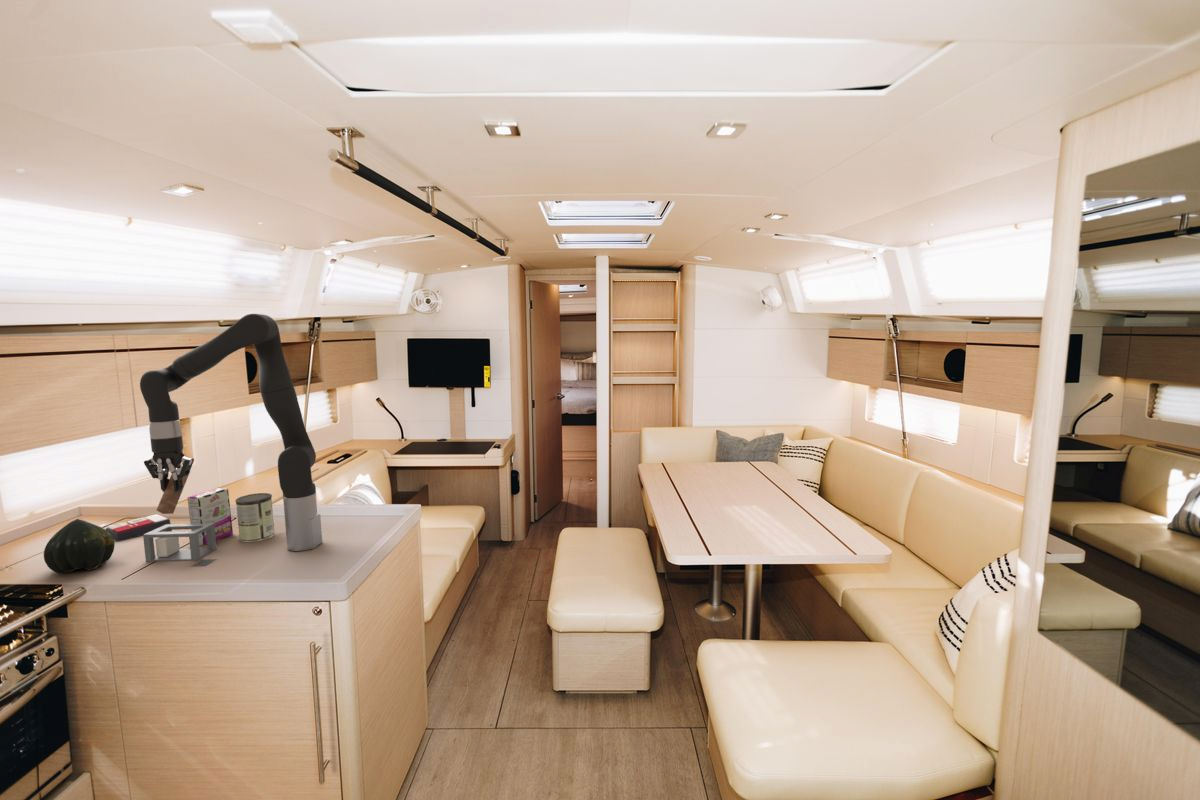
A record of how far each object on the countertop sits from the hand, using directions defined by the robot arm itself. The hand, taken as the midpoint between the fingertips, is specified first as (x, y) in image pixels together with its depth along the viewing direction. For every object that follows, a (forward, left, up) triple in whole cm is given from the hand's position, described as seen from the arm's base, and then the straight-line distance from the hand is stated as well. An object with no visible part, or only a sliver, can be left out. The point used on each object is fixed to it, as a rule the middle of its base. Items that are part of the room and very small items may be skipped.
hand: (172, 490), depth 164 cm
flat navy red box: (+31, -24, -22) cm, 45 cm away
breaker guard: (-1, 0, -21) cm, 21 cm away
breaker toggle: (+3, 0, -20) cm, 20 cm away
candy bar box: (-1, -14, -21) cm, 25 cm away
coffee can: (-15, -15, -21) cm, 30 cm away
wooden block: (0, +4, -5) cm, 7 cm away
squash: (+23, +7, -21) cm, 32 cm away
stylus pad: (-12, +6, -21) cm, 25 cm away
